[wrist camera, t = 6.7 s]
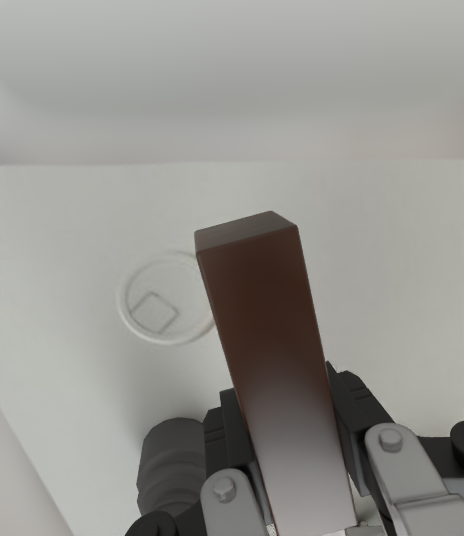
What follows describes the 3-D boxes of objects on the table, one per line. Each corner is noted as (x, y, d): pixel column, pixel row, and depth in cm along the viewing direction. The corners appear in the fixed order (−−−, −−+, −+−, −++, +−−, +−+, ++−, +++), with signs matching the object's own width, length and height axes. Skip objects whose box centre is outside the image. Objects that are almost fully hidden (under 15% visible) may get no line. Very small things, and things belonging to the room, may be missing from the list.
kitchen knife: (318, 667, 18) (342, 761, 15) (193, 231, 12) (195, 252, 9) (370, 651, 18) (403, 741, 16) (272, 209, 12) (297, 224, 9)
